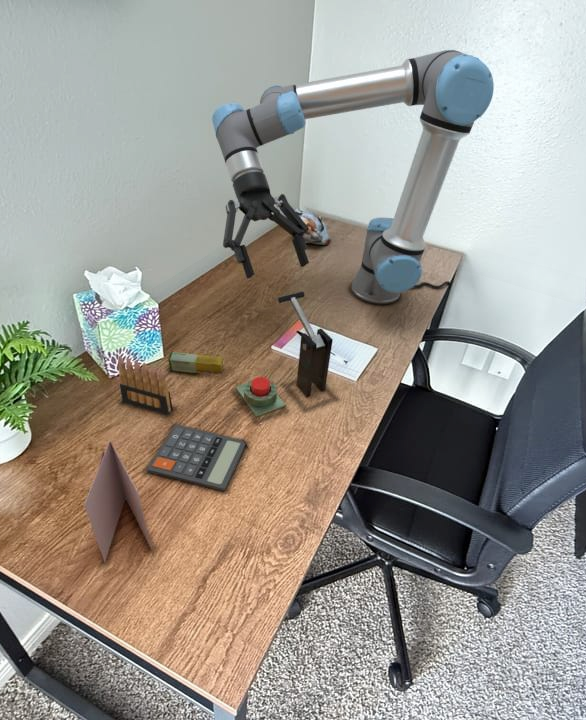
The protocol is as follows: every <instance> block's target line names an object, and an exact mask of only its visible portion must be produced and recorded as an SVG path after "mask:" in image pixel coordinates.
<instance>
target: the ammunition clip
mask: <svg viewBox="0 0 586 720" xmlns="http://www.w3.org/2000/svg"><path fill="white" fill-rule="evenodd" d="M117 366H118V376H119V380H120V381H119V382H120V383H119V389H120V394H121V401H122V403H124V404H128V405H132V406H135V407H137V408H141V409H145V410H148V411H153V412H156V413H160V414H163V415H167V416H169V415H170V414H171V412H172V411H173V410H174V408H173V403H172V398H171V391H170V390H169V388H168V387H169V386H168V382H167V379H166V375H165V371H164V369H163V367H162V366H159V368H158V371H157V369H156V367H155V365H153V364H151V365H150V370H149V368H148V364H146V362H143V363H142V367H141V365H140V363H139V362H138V359H136V360H134V365H133V363H132V361H131V359H130V358H129V357H127V358H126V362H125V360H124V359H123V357H122V356H121V355H119V356H118V358H117ZM133 366H134V367H133ZM157 372H158V373H157Z"/></svg>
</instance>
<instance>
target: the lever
mask: <svg viewBox="0 0 586 720" xmlns="http://www.w3.org/2000/svg"><path fill="white" fill-rule="evenodd" d="M305 296H306V295H305V292H304V291H298V292H295V293H290V294H285V295H282V296H279V297H278V298H277V301H278V303H279V304H283V303H287V302H290V304H291V306H292V308H293V311H294V312H295V313H296V315H297V317H298V319H299V321H300V323H301V325H302V327H303V329H304V330H305V332H306V334H307V335H308V336H309V337H310V338H311V339H312V340H313V341H314V342H315V343H316V344H317V346H316V352H318V351H321V350H322V349H323V348H324V346H325V343H324V342H323V340H322V338H321V336H320V334H318V335H317V334H316V333H315V332H314V330H313V328H312V326H311V324H310V322H309V319H307V317H306V315H305V312H304V311H303V309H302V307H301V305H300V304H299V302H298V299H303V298H305Z"/></svg>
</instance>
